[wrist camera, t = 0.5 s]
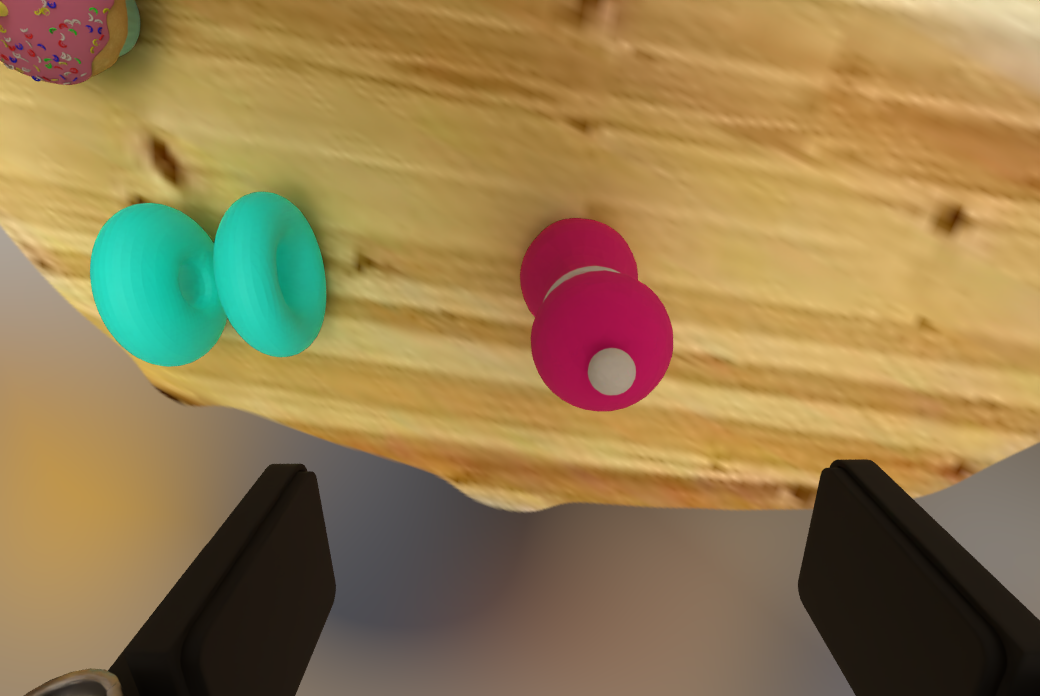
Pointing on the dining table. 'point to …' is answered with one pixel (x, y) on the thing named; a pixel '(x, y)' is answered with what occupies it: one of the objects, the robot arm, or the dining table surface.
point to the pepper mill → (593, 317)
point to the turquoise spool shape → (209, 280)
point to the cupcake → (66, 37)
